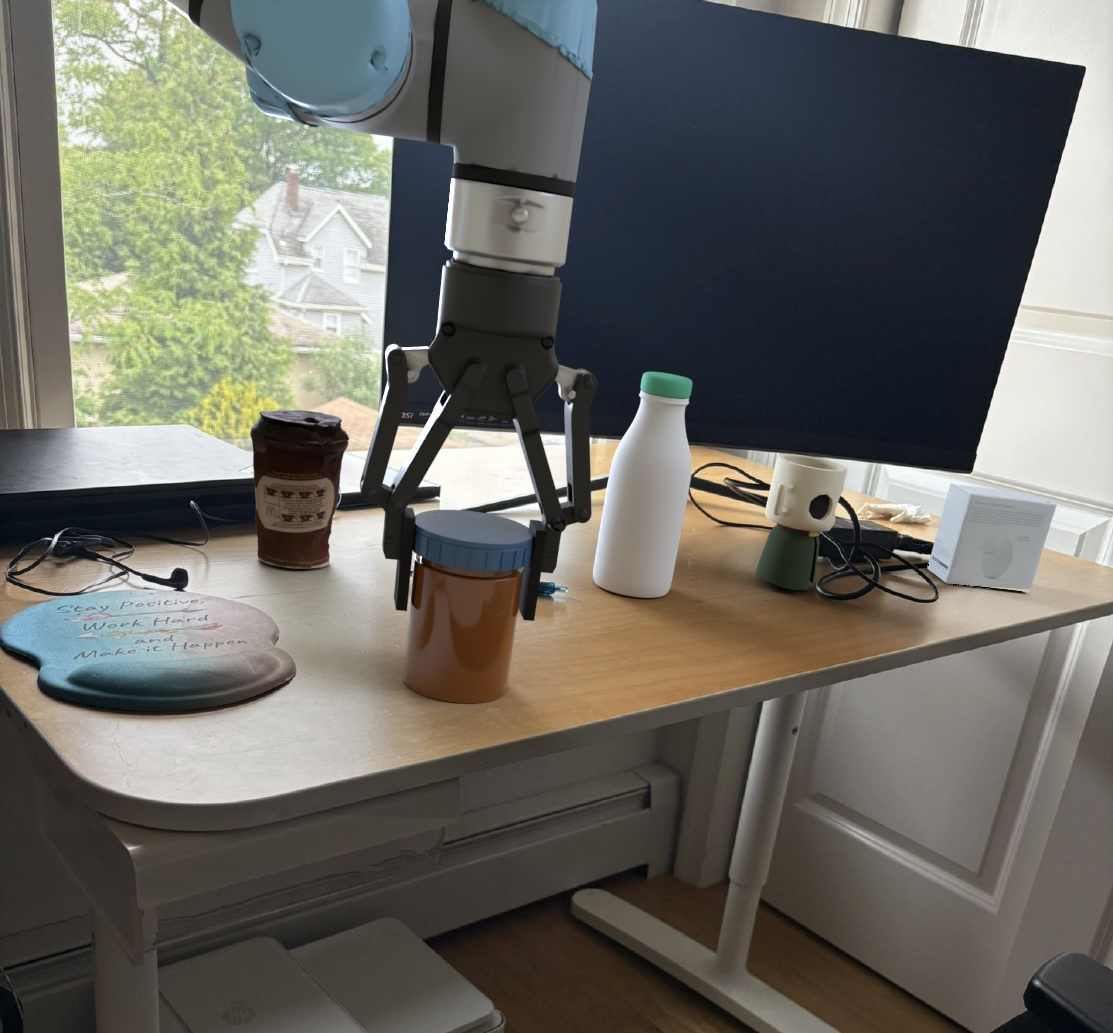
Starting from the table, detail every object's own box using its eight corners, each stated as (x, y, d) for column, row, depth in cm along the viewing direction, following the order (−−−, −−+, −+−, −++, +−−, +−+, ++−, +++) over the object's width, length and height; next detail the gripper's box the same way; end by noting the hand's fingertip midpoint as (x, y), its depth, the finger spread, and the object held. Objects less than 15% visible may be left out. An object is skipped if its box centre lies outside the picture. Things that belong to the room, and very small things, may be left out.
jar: (406, 700, 78) (421, 551, 74) (399, 659, 85) (412, 520, 81) (514, 706, 80) (535, 561, 76) (499, 665, 87) (517, 530, 82)
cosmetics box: (1006, 578, 137) (1034, 492, 133) (1030, 594, 131) (1060, 505, 127) (924, 567, 136) (949, 480, 132) (944, 584, 130) (971, 493, 126)
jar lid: (414, 565, 74) (416, 537, 73) (405, 530, 81) (408, 504, 80) (540, 576, 76) (543, 549, 75) (520, 541, 83) (524, 515, 82)
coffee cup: (345, 579, 100) (355, 430, 95) (247, 573, 98) (252, 420, 92) (335, 550, 108) (345, 410, 102) (245, 544, 105) (249, 400, 100)
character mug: (785, 603, 113) (816, 473, 108) (726, 582, 117) (753, 456, 112) (837, 589, 121) (869, 467, 116) (780, 569, 125) (808, 451, 120)
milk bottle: (673, 604, 108) (715, 387, 99) (592, 593, 107) (628, 374, 99) (665, 580, 115) (704, 376, 106) (589, 570, 114) (623, 363, 106)
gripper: (332, 241, 65) (311, 615, 75) (681, 293, 70) (619, 639, 79) (331, 235, 72) (312, 580, 81) (650, 283, 76) (596, 603, 86)
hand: (463, 608), depth 80 cm, fingers closed on jar lid, 8 cm apart
